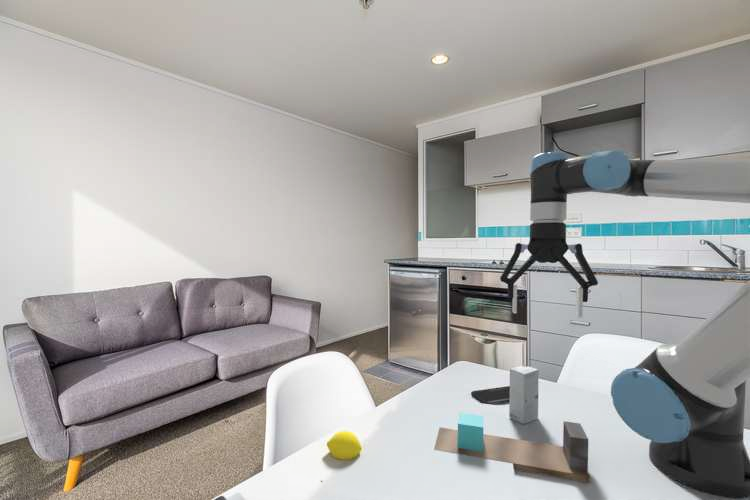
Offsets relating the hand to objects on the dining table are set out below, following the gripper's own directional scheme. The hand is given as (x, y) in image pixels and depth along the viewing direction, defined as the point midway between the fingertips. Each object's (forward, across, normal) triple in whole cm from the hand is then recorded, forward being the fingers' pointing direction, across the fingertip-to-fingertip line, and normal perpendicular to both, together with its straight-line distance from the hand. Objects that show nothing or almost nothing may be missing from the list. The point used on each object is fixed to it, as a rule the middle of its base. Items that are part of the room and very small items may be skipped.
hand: (545, 314), depth 84 cm
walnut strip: (+27, +9, +14) cm, 31 cm away
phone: (+27, +9, -15) cm, 32 cm away
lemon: (+27, +40, +25) cm, 54 cm away
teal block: (+25, +16, +14) cm, 33 cm away
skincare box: (+27, +4, -4) cm, 27 cm away
